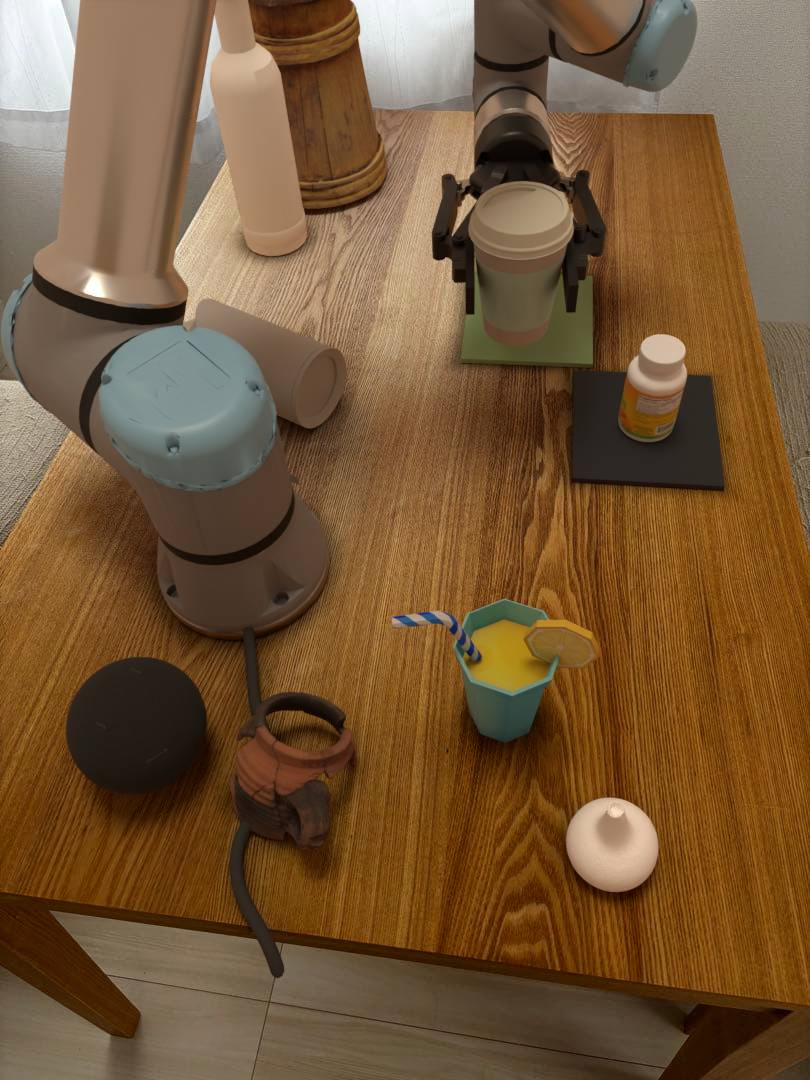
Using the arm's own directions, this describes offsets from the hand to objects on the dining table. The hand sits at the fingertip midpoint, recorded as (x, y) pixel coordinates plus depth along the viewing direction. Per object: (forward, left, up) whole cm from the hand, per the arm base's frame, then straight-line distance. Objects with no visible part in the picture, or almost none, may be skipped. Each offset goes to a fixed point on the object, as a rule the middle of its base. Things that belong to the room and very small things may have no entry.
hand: (521, 300), depth 71 cm
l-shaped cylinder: (+5, +28, -18) cm, 34 cm away
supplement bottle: (+4, -13, -18) cm, 22 cm away
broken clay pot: (-36, +14, -18) cm, 43 cm away
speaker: (-34, +26, -18) cm, 47 cm away
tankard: (+51, +28, -18) cm, 61 cm away
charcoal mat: (+4, -13, -18) cm, 23 cm away
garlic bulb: (-38, -9, -18) cm, 43 cm away
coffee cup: (+5, 0, -7) cm, 8 cm away
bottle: (+34, +31, -18) cm, 50 cm away
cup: (-28, 0, -18) cm, 34 cm away
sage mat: (+20, -1, -18) cm, 27 cm away
